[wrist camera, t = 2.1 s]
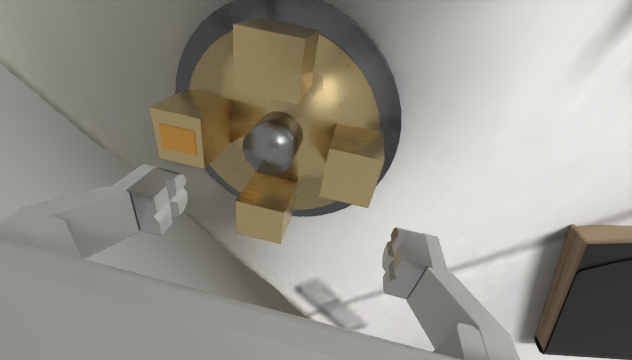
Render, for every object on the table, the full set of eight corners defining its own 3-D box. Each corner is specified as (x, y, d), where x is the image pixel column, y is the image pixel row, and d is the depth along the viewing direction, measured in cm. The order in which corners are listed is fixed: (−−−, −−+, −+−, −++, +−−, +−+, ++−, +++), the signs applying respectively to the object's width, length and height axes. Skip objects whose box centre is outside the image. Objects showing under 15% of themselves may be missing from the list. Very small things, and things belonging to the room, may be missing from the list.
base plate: (440, 22, 23) (444, 24, 22) (365, 227, 37) (365, 236, 35) (168, -31, 25) (155, -32, 23) (194, 185, 38) (187, 192, 37)
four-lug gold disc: (409, 47, 23) (419, 62, 18) (353, 221, 34) (349, 262, 29) (180, 1, 24) (127, 2, 19) (200, 184, 36) (170, 216, 30)
